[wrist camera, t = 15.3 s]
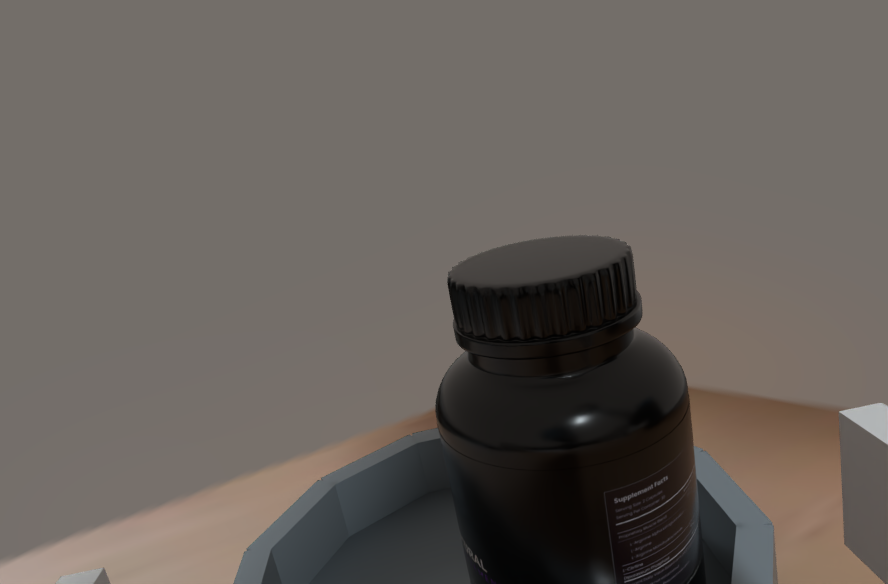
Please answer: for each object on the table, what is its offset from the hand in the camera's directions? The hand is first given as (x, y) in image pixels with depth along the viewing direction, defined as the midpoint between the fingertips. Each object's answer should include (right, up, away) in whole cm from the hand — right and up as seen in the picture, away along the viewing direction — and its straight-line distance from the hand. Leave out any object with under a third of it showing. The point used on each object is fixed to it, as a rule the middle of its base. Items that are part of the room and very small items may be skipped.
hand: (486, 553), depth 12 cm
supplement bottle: (+4, -6, +9) cm, 11 cm away
